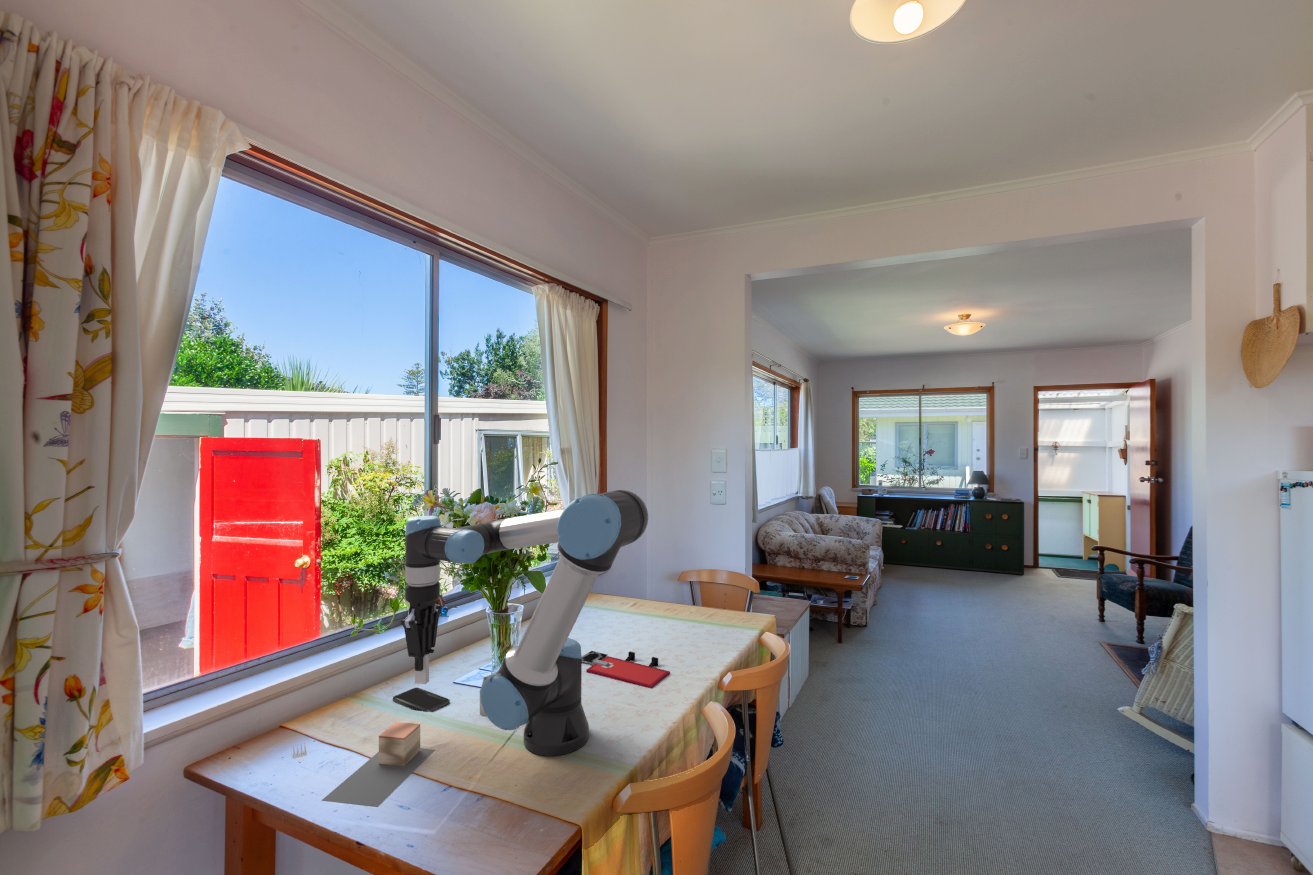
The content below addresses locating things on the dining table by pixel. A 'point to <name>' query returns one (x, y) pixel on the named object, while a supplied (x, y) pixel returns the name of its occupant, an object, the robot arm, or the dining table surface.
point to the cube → (399, 743)
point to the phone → (421, 700)
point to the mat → (374, 781)
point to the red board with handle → (625, 669)
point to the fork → (298, 753)
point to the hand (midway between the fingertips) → (421, 682)
